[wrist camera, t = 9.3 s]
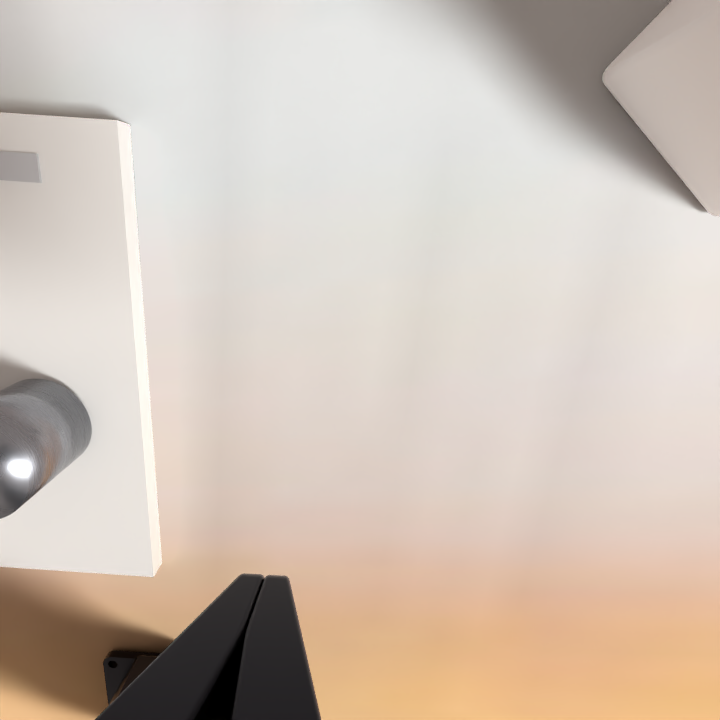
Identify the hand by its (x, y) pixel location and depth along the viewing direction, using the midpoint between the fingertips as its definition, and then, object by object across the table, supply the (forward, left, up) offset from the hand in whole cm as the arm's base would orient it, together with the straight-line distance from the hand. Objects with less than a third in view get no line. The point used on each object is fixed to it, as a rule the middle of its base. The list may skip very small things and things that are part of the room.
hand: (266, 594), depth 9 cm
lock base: (-1, +15, -13) cm, 20 cm away
